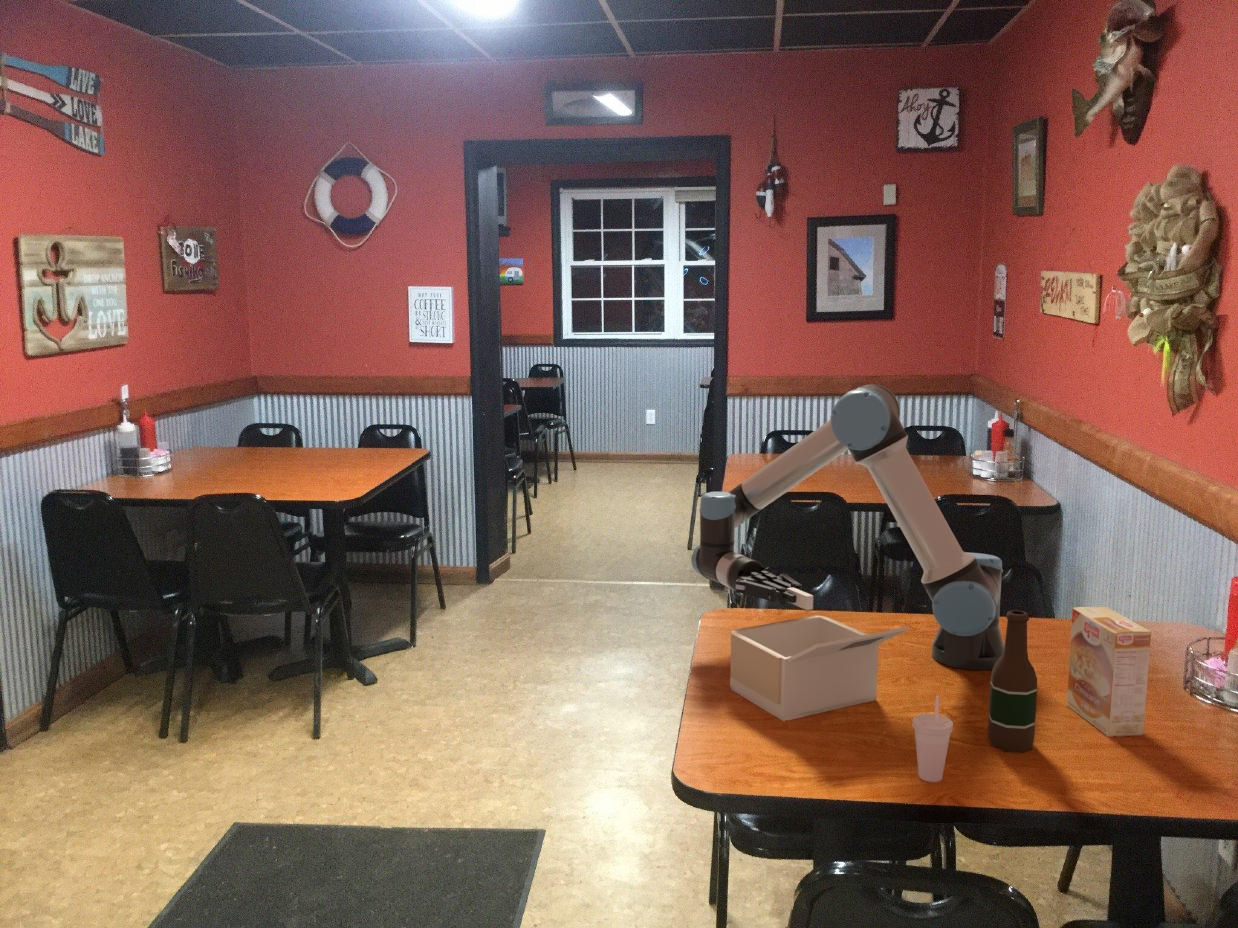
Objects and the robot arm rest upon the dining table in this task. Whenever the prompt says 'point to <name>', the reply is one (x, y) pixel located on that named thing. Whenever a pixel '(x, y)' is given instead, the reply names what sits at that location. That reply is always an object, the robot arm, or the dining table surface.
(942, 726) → the smoothie
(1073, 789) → the dining table surface
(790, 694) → the carton
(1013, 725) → the beer bottle
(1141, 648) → the coffeecake box
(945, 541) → the robot arm
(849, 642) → the far flap
